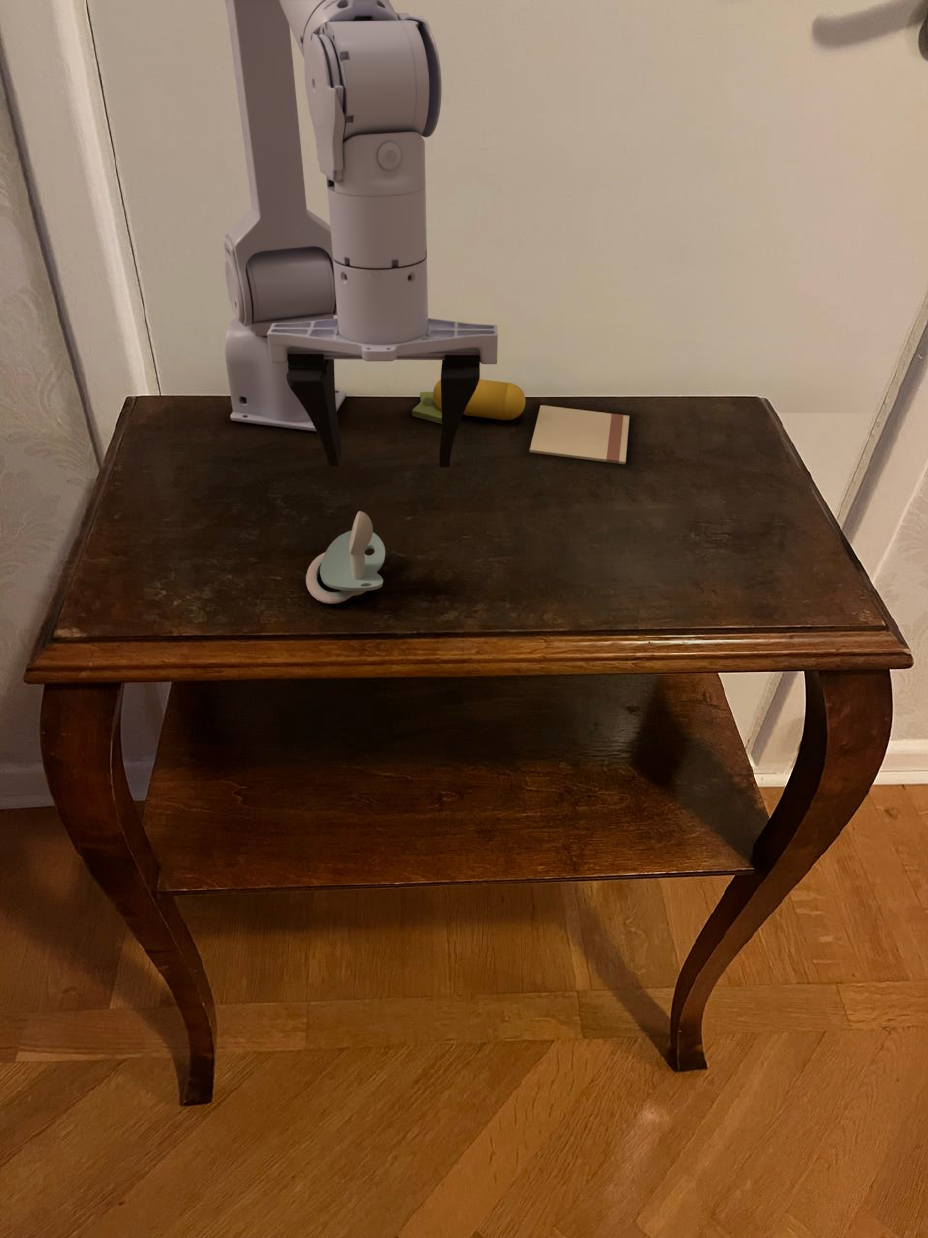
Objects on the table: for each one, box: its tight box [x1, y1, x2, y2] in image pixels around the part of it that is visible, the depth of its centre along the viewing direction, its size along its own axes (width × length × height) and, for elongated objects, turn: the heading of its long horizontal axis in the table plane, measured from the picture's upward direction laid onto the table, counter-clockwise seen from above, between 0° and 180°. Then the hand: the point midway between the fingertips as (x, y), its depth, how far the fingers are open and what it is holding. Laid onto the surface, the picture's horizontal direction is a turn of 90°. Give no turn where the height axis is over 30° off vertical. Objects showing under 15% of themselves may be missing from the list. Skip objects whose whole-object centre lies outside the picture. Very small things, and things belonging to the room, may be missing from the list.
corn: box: [411, 378, 526, 425], centre depth 89 cm, size 11×6×4 cm, turn 80°
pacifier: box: [305, 510, 386, 605], centre depth 68 cm, size 7×6×6 cm
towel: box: [529, 404, 630, 465], centre depth 88 cm, size 9×9×1 cm
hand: (389, 460), depth 63 cm, fingers open, 7 cm apart
